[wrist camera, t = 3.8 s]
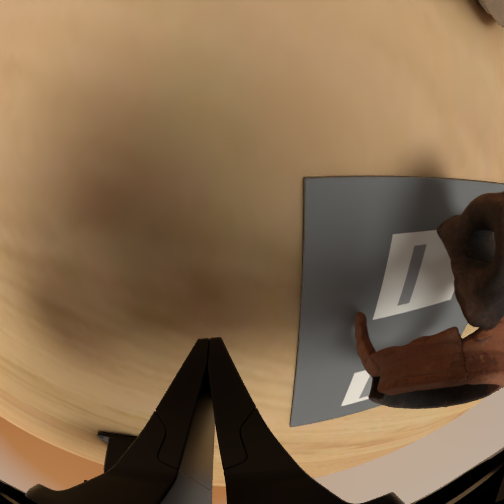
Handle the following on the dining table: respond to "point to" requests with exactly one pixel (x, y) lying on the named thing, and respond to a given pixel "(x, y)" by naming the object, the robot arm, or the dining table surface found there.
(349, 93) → the dining table surface
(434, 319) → the label mat
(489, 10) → the stereo radio cassette player
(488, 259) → the brown curved piece
